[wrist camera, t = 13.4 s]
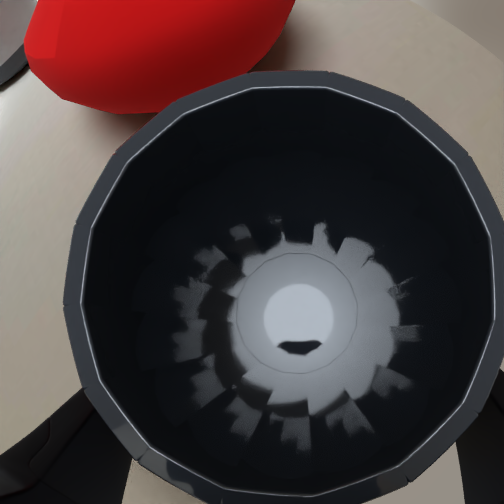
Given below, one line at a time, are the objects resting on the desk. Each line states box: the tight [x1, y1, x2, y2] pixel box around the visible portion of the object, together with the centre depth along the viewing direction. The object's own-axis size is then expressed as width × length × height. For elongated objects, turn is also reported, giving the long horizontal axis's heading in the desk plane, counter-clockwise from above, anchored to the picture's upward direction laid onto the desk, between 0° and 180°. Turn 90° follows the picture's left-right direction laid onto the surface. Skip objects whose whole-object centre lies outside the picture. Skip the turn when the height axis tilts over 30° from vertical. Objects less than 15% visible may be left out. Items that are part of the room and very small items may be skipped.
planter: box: [0, 0, 38, 85], centre depth 23 cm, size 13×13×10 cm
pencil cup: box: [63, 70, 504, 504], centre depth 10 cm, size 7×7×12 cm
